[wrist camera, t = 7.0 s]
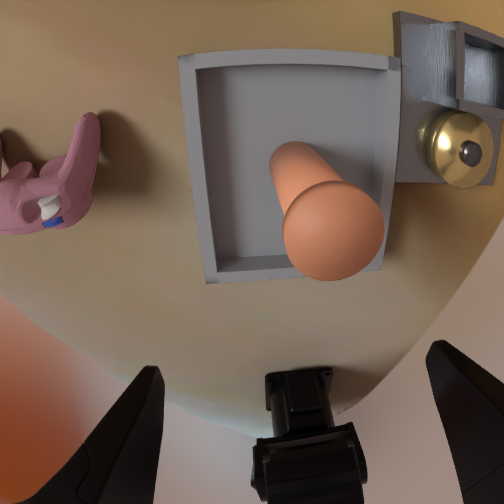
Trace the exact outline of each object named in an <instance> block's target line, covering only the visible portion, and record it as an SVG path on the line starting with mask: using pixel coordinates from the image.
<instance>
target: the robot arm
mask: <svg viewBox="0 0 504 504" xmlns="http://www.w3.org/2000/svg"><path fill="white" fill-rule="evenodd" d="M426 367H427V371H428V374H429V379H430V383H431V387H432V391H433V395H434V399H435V403H436V406H437V409H438V412H439V414H440V418H441V421H442V424H443V427H444V430H445V434H446V437H447V440H448V444H449V447H450V451H451V453H452V458H453V461H454V465H455V469H456V473H457V477H458V481H459V484H460V489H461V493H462V498H463V503H464V504H504V384H503V383H502V382H501V381H500V380H498V379H497V378H496V377H494V376H493V375H492V374H490V373H489V372H488V371H486V370H485V369H484V368H482V367H481V366H480V365H478V364H477V363H475V362H474V361H473V360H471V359H470V358H469V357H467V356H466V355H465V354H463V353H462V352H461V351H459V350H458V349H457V348H455V347H454V346H452V345H451V344H450V343H448V342H447V341H445V340H438V341H434V342H433V343H432V345H431V347H430V349H429V352H428V354H427V356H426ZM332 376H333V371H332V369H331V368H322V369H313V370H305V371H295V372H285V373H273V374H267V375H266V376H265V393H266V410H267V411H271V413H272V424H273V434H274V437H272V438H264V439H263V438H257V445H255V446H254V447H253V469H252V475H251V486H252V487H253V488H254V489H255V490H257V493H258V495H259V497H260V500H261V501H262V502H265V501H267V503H268V504H364V496H363V489H362V484H366V483H367V478H368V477H367V466H366V461H365V457H364V453H363V450H362V447H361V445H360V442H359V439H358V436H357V433H356V431H355V428H354V425H353V423H352V422H349V423H346V424H344V425H340V426H335V424H334V420H333V415H332V411H331V407H330V402H329V398H328V393H329V389H330V385H331V380H332ZM164 395H165V384H164V380H163V377H162V375H161V372H160V369H159V367H158V366H145V367H144V368H143V369H142V370H141V371H140V372H139V374H138V375H137V376H136V377H135V379H134V380H133V381H132V382H131V384H130V385H129V386H128V387H127V389H126V390H125V391H124V392H123V393H122V395H121V396H120V397H119V398H118V400H117V401H116V402H115V404H114V405H113V406H112V407H111V408H110V410H109V411H108V412H107V413H106V415H105V416H104V417H103V418H102V420H101V421H100V422H99V423H98V425H97V426H96V427H95V428H94V430H93V431H92V432H91V433H90V435H89V436H88V437H87V438H86V440H85V441H84V443H82V445H81V446H80V447H79V448H78V450H77V451H76V452H75V453H74V454H73V456H72V457H71V458H70V459H69V460H68V461H67V463H66V464H65V465H64V466H63V467H62V468H61V469H60V470H59V471H58V472H57V473H56V474H55V475H54V476H53V477H52V478H51V479H50V480H49V481H48V482H47V483H46V484H45V485H44V486H43V487H42V488H41V489H39V490H38V491H37V492H36V493H35V494H34V495H33V496H31V497H30V498H28V499H26V500H24V501H21V502H18V503H14V504H153V499H154V491H155V483H156V475H157V468H158V461H159V454H160V447H161V441H162V434H163V420H164Z"/></svg>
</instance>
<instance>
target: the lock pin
mask: <svg viewBox="0 0 504 504" xmlns="http://www.w3.org/2000/svg"><path fill="white" fill-rule="evenodd" d="M269 171H270V174H271V177H272V180H273V183H274V186H275V189H276V192H277V195H278V198H279V201H280V204H281V207H282V210H283V213H284V220H283V225H282V235H283V240H284V244H285V248H286V251H287V255H288V257H289V259H290V261H291V263H292V264H293V265H294V267H295V268H296V269H297V270H298V271H300V272H301V273H302V274H304V275H306V276H308V277H310V278H313V279H316V280H321V281H335V280H340V279H344V278H347V277H350V276H352V275H354V274H356V273H358V272H359V271H361V270H362V269H364V268H365V267H366V266H367V265H368V264H369V263H370V262H371V261H372V260H373V259H374V257H375V256H376V255H377V253H378V251H379V249H380V247H381V245H382V242H383V238H384V232H385V224H384V218H383V215H382V212H381V211H380V209H379V207H378V206H377V204H376V203H375V202H374V201H373V200H372V199H371V198H370V197H369V196H368V194H367V193H365V192H364V191H363V190H362V189H361V188H359V187H358V186H356V185H354V184H352V183H349V182H345V181H344V180H343V179H342V178H341V177H340V176H339V175H338V174H337V173H336V172H335V171H334V170H333V169H332V168H331V167H330V165H329V164H328V163H327V162H326V161H325V160H324V159H323V158H322V157H321V156H320V155H319V154H318V153H317V152H316V151H315V150H314V149H313V148H312V147H311V146H309V145H308V144H306V143H303V142H299V141H291V142H287V143H284V144H282V145H281V146H279V147H278V148H277V149H276V150H275V151H274V152H273V154H272V156H271V158H270V162H269Z"/></svg>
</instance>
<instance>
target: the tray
mask: <svg viewBox="0 0 504 504" xmlns="http://www.w3.org/2000/svg"><path fill="white" fill-rule="evenodd" d="M178 62H179V74H180V85H181V96H182V107H183V116H184V126H185V135H186V144H187V153H188V161H189V169H190V177H191V185H192V193H193V200H194V208H195V215H196V222H197V229H198V236H199V242H200V249H201V255H202V262H203V268H204V274H205V280H206V284H211V283H227V282H243V281H257V280H272V279H285V278H298V277H308V276H306V275H304V274H302V273H301V272H300V271H298V270H297V269H296V268H295V267H294V265H293V264H292V263H291V261H290V259H289V257H288V255H287V251H286V248H285V244H284V240H283V235H282V225H283V220H284V213H283V210H282V207H281V204H280V201H279V198H278V195H277V192H276V189H275V186H274V183H273V180H272V177H271V174H270V171H269V162H270V158H271V156H272V154H273V152H274V151H275V150H276V149H277V148H278V147H279V146H281V145H282V144H284V143H287V142H291V141H299V142H303V143H306V144H308V145H309V146H311V147H312V148H313V149H314V150H315V151H316V152H317V153H318V154H319V155H320V156H321V157H322V158H323V159H324V160H325V161H326V162H327V163H328V164H329V165H330V167H331V168H332V169H333V170H334V171H335V172H336V173H337V174H338V175H339V176H340V177H341V178H342V179H343V180H344V181H345V182H349V183H352V184H354V185H356V186H358V187H359V188H361V189H362V190H363V191H364V192H365V193H367V194H368V196H369V197H370V198H371V199H372V200H373V201H374V202H375V203H376V204H377V206H378V207H379V209H380V211H381V212H382V215H383V218H384V224H385V232H384V238H383V242H382V245H381V247H380V249H379V251H378V253H377V255H376V256H375V257H374V259H373V260H372V261H371V262H370V263H369V264H368V265H367V266H366V267H365V268H364V269H362V270H361V271H359V272H369V271H380V270H381V267H382V262H383V256H384V251H385V245H386V239H387V233H388V227H389V220H390V213H391V206H392V198H393V190H394V182H395V173H396V163H397V151H398V138H399V122H400V99H401V58H397V57H391V56H384V55H376V54H368V53H359V52H348V51H335V50H318V49H251V50H233V51H220V52H209V53H200V54H192V55H184V56H178Z"/></svg>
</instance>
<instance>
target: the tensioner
mask: <svg viewBox="0 0 504 504" xmlns="http://www.w3.org/2000/svg"><path fill="white" fill-rule="evenodd" d="M393 31H394V57H397V58H401V99H400V122H399V138H398V151H397V163H396V173H395V182H415V183H449V184H450V185H452V186H454V187H456V188H460V189H466V188H470V187H473V186H475V185H492V184H493V179H494V173H495V168H496V162H497V155H498V148H499V141H500V133H501V123H502V119H503V120H504V38H501V37H499V36H497V35H494V34H492V33H490V32H487V31H485V30H482V29H480V28H477V27H474V26H472V25H469V24H466V23H463V22H461V21H454V22H442V21H438V20H435V19H431V18H427V17H424V16H420V15H416V14H411V13H407V12H403V11H398V12H394V13H393Z"/></svg>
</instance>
